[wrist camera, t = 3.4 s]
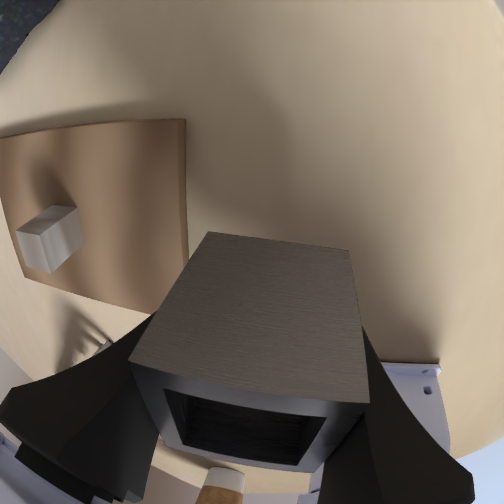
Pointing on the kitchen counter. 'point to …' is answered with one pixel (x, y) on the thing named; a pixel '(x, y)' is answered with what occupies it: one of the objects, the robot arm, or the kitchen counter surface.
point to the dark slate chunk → (19, 23)
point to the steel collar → (256, 354)
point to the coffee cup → (222, 487)
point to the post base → (99, 208)
